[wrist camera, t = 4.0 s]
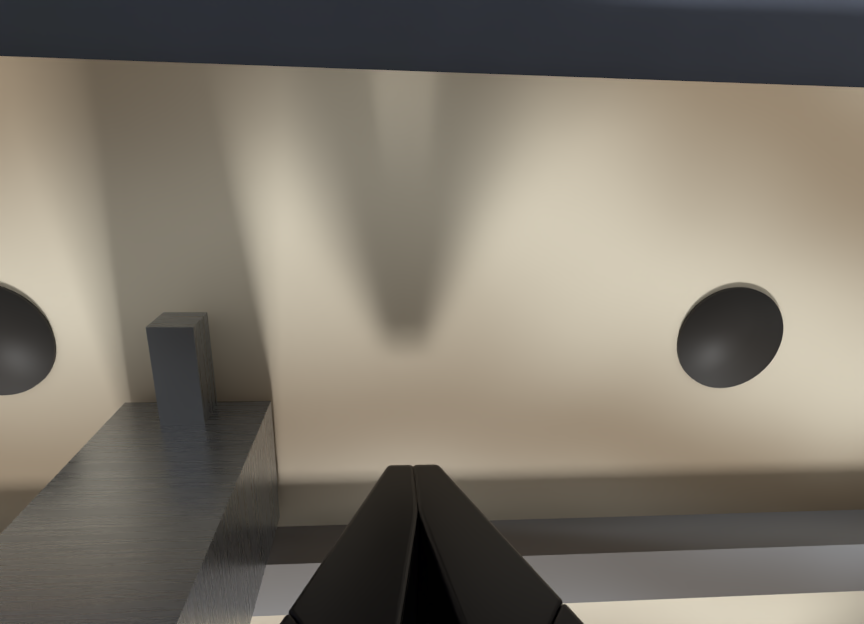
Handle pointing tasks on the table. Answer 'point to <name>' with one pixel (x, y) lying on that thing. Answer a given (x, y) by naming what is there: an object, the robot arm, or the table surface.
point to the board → (468, 309)
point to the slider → (153, 506)
